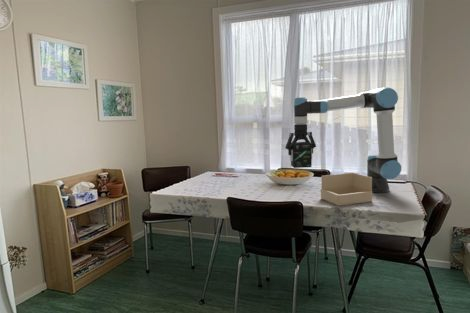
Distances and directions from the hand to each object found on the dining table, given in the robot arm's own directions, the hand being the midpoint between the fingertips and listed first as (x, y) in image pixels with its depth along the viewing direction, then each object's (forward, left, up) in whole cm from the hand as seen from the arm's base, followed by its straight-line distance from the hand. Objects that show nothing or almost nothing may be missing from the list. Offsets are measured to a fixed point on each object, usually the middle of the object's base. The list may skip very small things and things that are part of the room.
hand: (300, 160), depth 200 cm
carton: (-21, +15, -23) cm, 35 cm away
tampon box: (0, 0, -4) cm, 4 cm away
